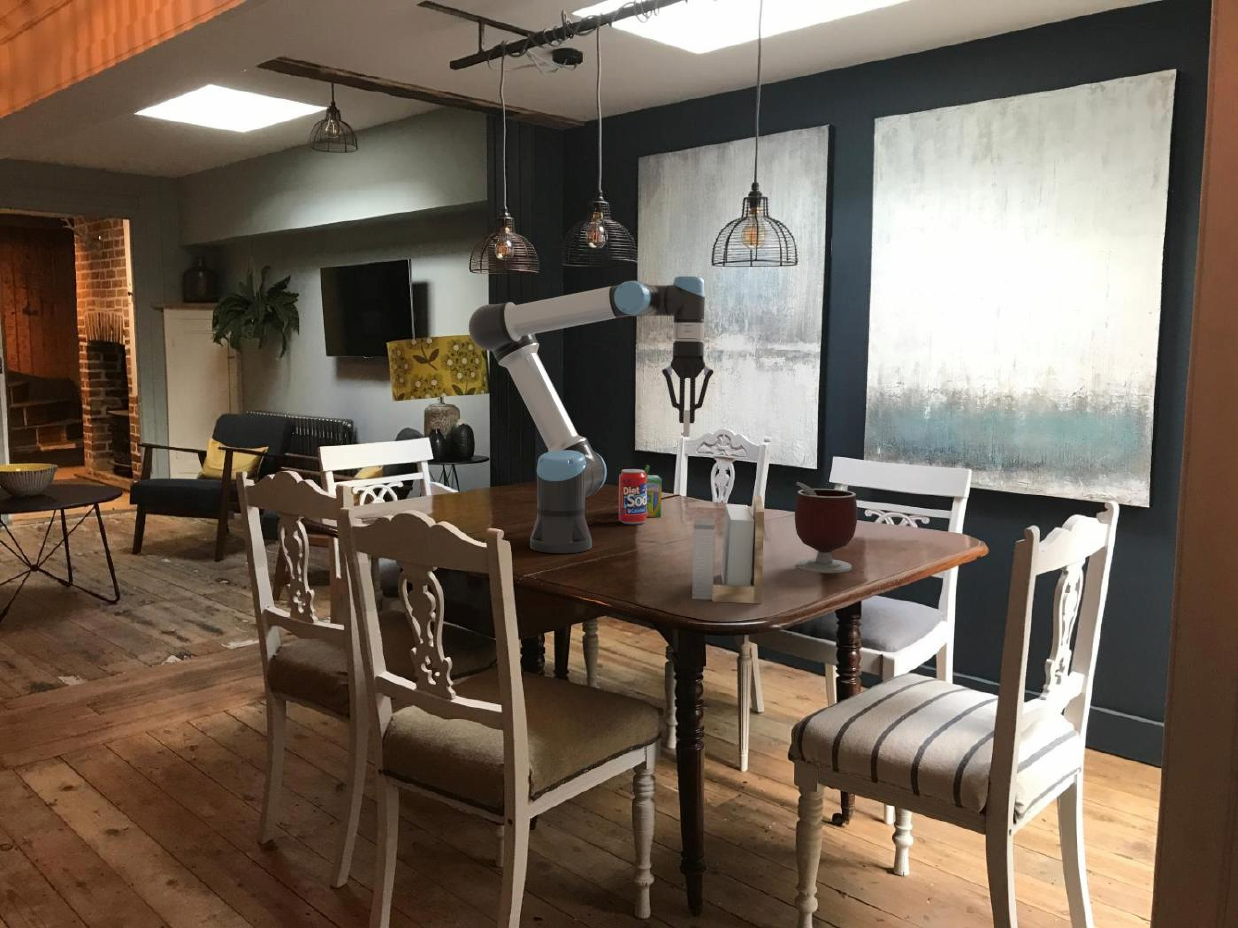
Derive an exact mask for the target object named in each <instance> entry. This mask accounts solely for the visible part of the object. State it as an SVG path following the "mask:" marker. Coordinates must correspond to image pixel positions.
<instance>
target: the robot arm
mask: <svg viewBox="0 0 1238 928" xmlns="http://www.w3.org/2000/svg"><path fill="white" fill-rule="evenodd" d="M705 303H706V295H705V281H704V278H702V277H700V276H695V275H694V276H691V275H689V276H687V275H686V276H685V275H684V276H676V277H674V279H673V284H667V285H664V284H663V285H661V284H657V285H656V284H655V285H653V284H649V283H645V282H644V283H643V282H641V281H638V280H628V281H623V282H622V283H620V284H616V285H612V286H611V285H610V286H606V287H601V288H597V289H596V288H595V289H592V290H586V291H580V292H577V293H571V294H566V295H561V296H556V297H552V298H547V299H541V300H536V301H532V302H531V301H529V302H527V303H522V304H521V303H520V304H515V303H514V302H512V301H511V302H510V301H508V302H504V303H497V304H492V303H491V304H484V305H481V306H480V307H479V308H477V309H476V310H475V311H474V312H473V313H472V314H471V316H470V318H469V322H468V332H469V336H470V338H471V340H472V342H473V343H474V344H475V345H476V346H477V347H479V348H481V349H483V350H485V351H489V352H492V353H493V355H494V356H493V357H494V358H495V359H496V362H497V363H498V365H499V366H501V367H503V368H506V369H507V370H508V372H509V374H510V376H511V379H512V380H513V382H514V385H515V386H516V388H517V390H518V393H519V394H520V396H521V397H522V400H523V402H524V404H525V405H526V408H527V410H528V412H529V414H530V415H531V418H532V420H533V421H534V424H535V425H536V428H537V430H538V432H539V433H540V436H541V438H542V439H543V442H544V444H545V446H546V447H547V450H548V451H547V452H544V453H543V454H541V455H540V456H539V457H538V460H537V467H536V473H537V474H536V475H537V476H536V478H537V479H536V480H537V481H536V483H537V485H536V487H537V488H536V491H537V493H536V495H537V497H536V499H537V501H536V502H537V507H536V508H537V512H536V513H537V514H536V516H537V517H536V520H535V523H534V526H533V529H532V531H531V535H530V540H529V548H530V549H531V550H534V551H536V552H541V553H549V554H572V553H573V554H574V553H581V552H582V553H583V552H587V551H589V550H591V549H592V548H593V547H592V546H593V545H592V542H593V539H592V535H591V533H590V529H589V526H588V523H587V520H586V515H585V514H586V511H585V510H586V508H585V507H586V498H587V497H591V496H592V495H595V494H596V493H597V492H598V491H599V490H600V489H601V488H602V487H603V486H604V484H605V482H606V480H607V474H608V472H607V471H608V470H607V465H606V463H605V461H604V458H603V457H602V456H601V455H600V454H599V453H597V452H595V451H594V450H593V448H592V447H591V444H590V442H589V440H588V438H587V437H584V436H581V435H579V433H578V432H577V430H576V428H575V426H574V424H573V422H572V420H571V417H570V416H569V414H568V412H567V410H566V408H565V406H564V404H563V403H562V400H561V398H560V397H559V394H558V392H557V390H556V389H555V386H554V384H553V383H552V380H551V379H550V377H549V374H548V373H547V371H546V369H545V366H544V365H543V362H542V361H541V359H540V356H539V354H538V350H539V348H540V343H539V341H538V339H537V338H536V335H535V334H540V333H545V332H549V331H550V332H552V331H557V330H561V329H565V328H571V327H576V326H580V325H581V326H582V325H587V324H592V323H598V322H601V321H607V320H612V319H618V318H624V317H629V316H632V317H640V318H643V317H671V316H672V318H673V321H672V322H673V327H672V329H673V330H672V331H673V333H672V337H673V338H672V339H674V340H675V341H673V343H672V359H671V362H670V365H669V366H667V367H665V368H662V370H661V374H663V376H664V378H665V381H666V384H667V389H668V394H669V399H670V402H671V406H672V408H675V409H677V410H678V412H679V413H678V423H679V424H683V426H682V427H683V431H682V432H683V436H682V437H683V438H690V436H691V424H695V419H696V414H695V413H696V410H699V409H701V408H702V407H703V403H704V400H705V396H706V392H707V389H708V385H709V382H710V378H711V377H712V375H714V369H712V368H710V367H708V366H707V365H706V362H705V360H704V359H705V358H704V355H705V354H704V353H705V352H704V351H705V350H704V348H705V347H704V344H705V343H704V342H703V341H702V340H704V339H705ZM673 372H674V373H675V374H676V376H677V377H678V379H679V397H678V398H679V400H677V397H676V393H675V388H674V383H673V379H672V374H673ZM702 372H703V376H704V378H703V381H702V385H701V388H700V393H699V397H698V401H697V403H696V379H697V378H698V376H700V374H701V373H702ZM686 379H689V409H685V406H686V405H685V404H686V403H685V402H686V401H685V400H686V398H685V397H686V394H685V393H686Z"/></svg>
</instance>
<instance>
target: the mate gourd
mask: <svg viewBox="0 0 1238 928" xmlns="http://www.w3.org/2000/svg"><path fill="white" fill-rule="evenodd" d="M795 485H796V486H797V487H799V488H801V489H800V490H798V491H797V497H796V500H795V507H794V524H795V531H796V535H797V536H798V537H799V539H800V541H801V542H802V544H804V545H806V546H808V547H809V548H811V549H813V550H815V551H817V552H818V553H817V555H816V558H804V559H800V560H797V562H796V567H797V568H798V569H800V570H803V571H806V572H812V573H821V574H838V573H839V574H842V573H846V572H849V571H852V567H853V566H852V564H851V563H850V562H846V561H843V560H839V559H833V556H832V555H831V552H834V551H837V550H839V549H841V548H844V547H846V546H848V544H849V543H850V542H851V540H852V539H853V538H854V535H855V533H856V530H857V529H856V528H857V523H858V503H857V498H856V496H857V495H856V493H855V492H853V491H849V490H845V489H833V488H832V489H831V488H811V487H810V486H808V485H806V484H804V483H801V482H799V481H796V483H795Z"/></svg>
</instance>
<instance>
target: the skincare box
mask: <svg viewBox="0 0 1238 928" xmlns="http://www.w3.org/2000/svg"><path fill="white" fill-rule="evenodd" d="M723 521H724V522H723V523H724V524H723V526H724V527H723V533H722V535H723V536H722V553H721V554H722V555H721V566H720V567H721V568H720V569H721V570H720V576H721V581H722V585H735V586H752V578H751V576H752V555H753V538H754V522H755V520H754V518H753V513H751V510H750V508H749V506H748V505H747V504H732V503H731V504H730V503H729V504H728V503H725V507H724V519H723Z"/></svg>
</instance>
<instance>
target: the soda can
mask: <svg viewBox="0 0 1238 928" xmlns="http://www.w3.org/2000/svg"><path fill="white" fill-rule="evenodd" d="M647 518H648V517H647V476H646V474H645V469H639V468H638V469H636V468H632V469H631V468H629V469H622V470H621V473H620V474H619V476H618V520H619V522H621V524H625V525H628V526H629V525H635V526H636V525H642V524H643V523H645V522H646V521H647Z"/></svg>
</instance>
